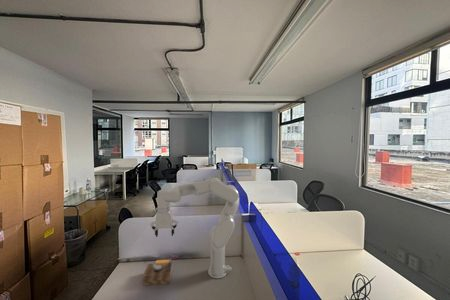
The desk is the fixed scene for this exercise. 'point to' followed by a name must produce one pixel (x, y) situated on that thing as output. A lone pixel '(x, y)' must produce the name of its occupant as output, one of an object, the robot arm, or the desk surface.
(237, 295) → the desk surface
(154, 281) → the hitch block
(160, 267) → the silver rounded cylinder
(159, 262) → the bar
